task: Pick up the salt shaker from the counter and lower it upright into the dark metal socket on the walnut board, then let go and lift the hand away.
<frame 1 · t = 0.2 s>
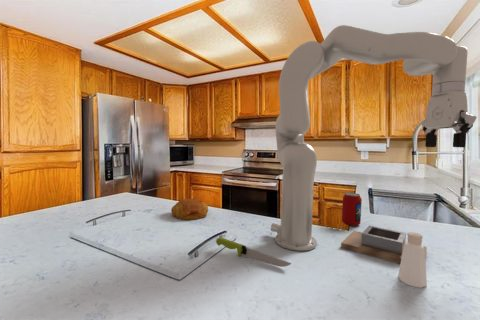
hand: (443, 147, 74), 31 cm above the counter, tool pointing down, fingers open, 9 cm apart
kitchen knife: (250, 259, 64), on the counter
salt shaker: (411, 281, 55), on the counter
walnut board: (383, 249, 72), on the counter
metal socket: (383, 239, 71), on the walnut board, point 3 cm above the counter
beverage can: (350, 224, 95), on the counter
croissant: (190, 216, 102), on the counter
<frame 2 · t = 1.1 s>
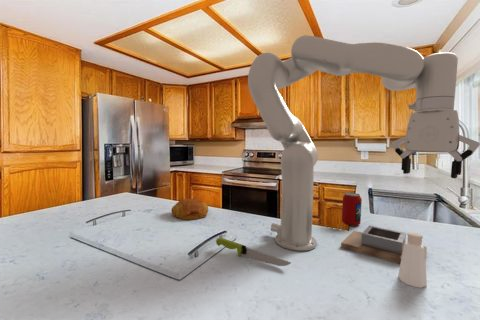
hand: (428, 175, 61), 24 cm above the counter, tool pointing down, fingers open, 9 cm apart
nothing on the counter moved.
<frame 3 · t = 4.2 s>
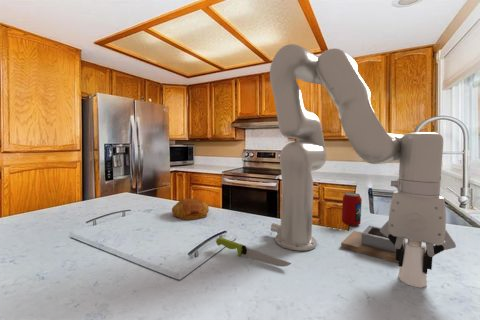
hand: (412, 266, 55), 3 cm above the counter, tool pointing down, fingers closed on salt shaker, 3 cm apart
salt shaker: (411, 281, 55), on the counter, touching gripper
everything else where it was.
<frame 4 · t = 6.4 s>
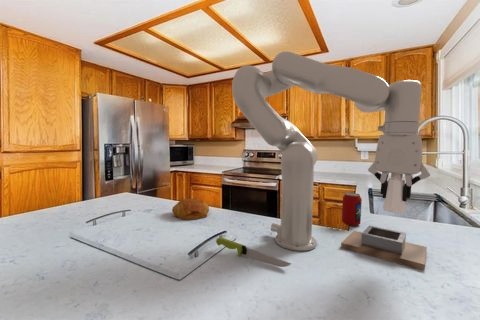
hand: (394, 198, 64), 17 cm above the counter, tool pointing down, fingers closed on salt shaker, 3 cm apart
salt shaker: (393, 211, 64), point 13 cm above the counter, touching gripper
everything else where it was.
when the fingers open (6 cm above the counter, at t = 9.1 s): salt shaker drops 1 cm, resting on walnut board.
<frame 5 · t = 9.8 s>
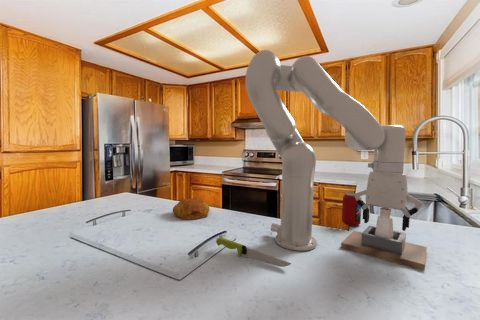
hand: (384, 225, 71), 7 cm above the counter, tool pointing down, fingers open, 9 cm apart
salt shaker: (383, 245, 71), point 1 cm above the counter, touching walnut board
everything else where it was.
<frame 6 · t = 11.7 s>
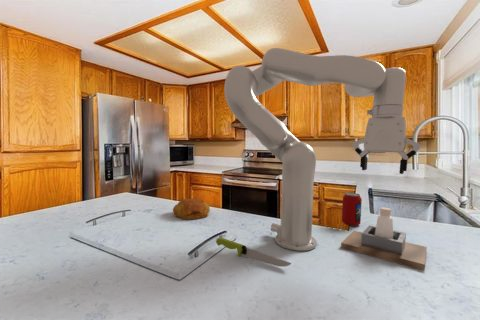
hand: (382, 171, 71), 23 cm above the counter, tool pointing down, fingers open, 9 cm apart
nothing on the counter moved.
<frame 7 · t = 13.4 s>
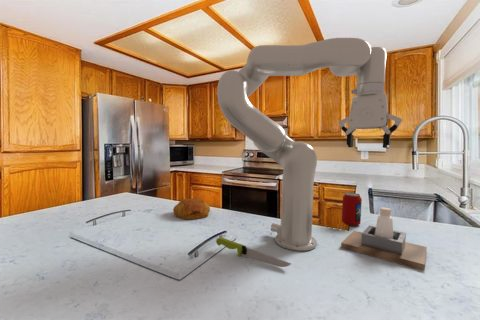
hand: (367, 147, 74), 30 cm above the counter, tool pointing down, fingers open, 9 cm apart
nothing on the counter moved.
at the end: salt shaker 0.1 cm off-centre on the walnut board, point 1.3 cm above the walnut board's base; salt shaker tilted 0°; the gripper is holding nothing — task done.
